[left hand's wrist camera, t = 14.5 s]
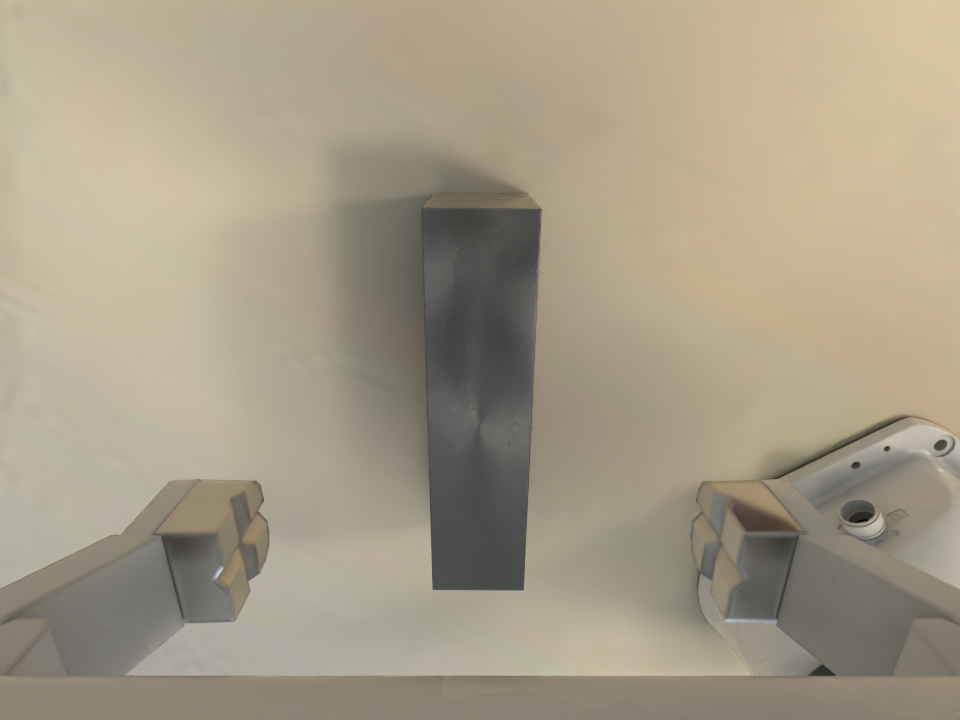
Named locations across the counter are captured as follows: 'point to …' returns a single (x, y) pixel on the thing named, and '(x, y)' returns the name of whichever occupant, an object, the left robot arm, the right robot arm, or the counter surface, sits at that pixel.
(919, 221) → the counter surface
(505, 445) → the bar
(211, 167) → the counter surface
